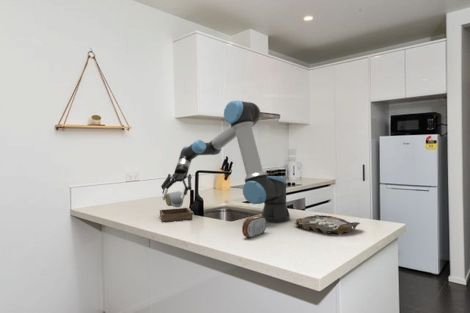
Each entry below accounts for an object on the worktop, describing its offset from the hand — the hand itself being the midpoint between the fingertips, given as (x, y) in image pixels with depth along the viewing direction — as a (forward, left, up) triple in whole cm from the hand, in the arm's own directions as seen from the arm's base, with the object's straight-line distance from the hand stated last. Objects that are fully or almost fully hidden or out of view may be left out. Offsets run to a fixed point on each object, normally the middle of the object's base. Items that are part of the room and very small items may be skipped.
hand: (172, 199), depth 181 cm
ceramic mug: (+1, -2, -4) cm, 5 cm away
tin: (-48, -29, -12) cm, 57 cm away
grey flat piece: (-48, -64, -12) cm, 81 cm away
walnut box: (+2, -2, -11) cm, 12 cm away
